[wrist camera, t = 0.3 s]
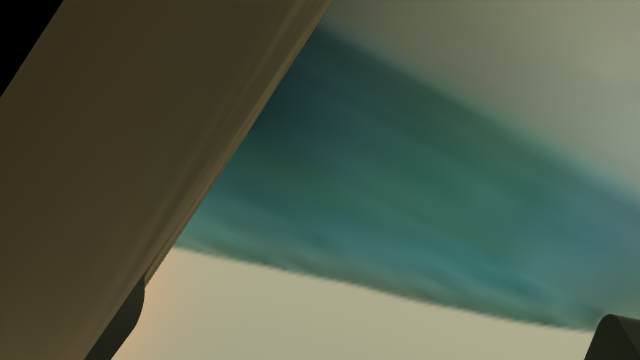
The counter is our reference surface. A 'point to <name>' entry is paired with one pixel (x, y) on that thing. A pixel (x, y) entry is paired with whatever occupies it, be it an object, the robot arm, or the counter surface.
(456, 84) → the counter surface
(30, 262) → the walnut step stand
